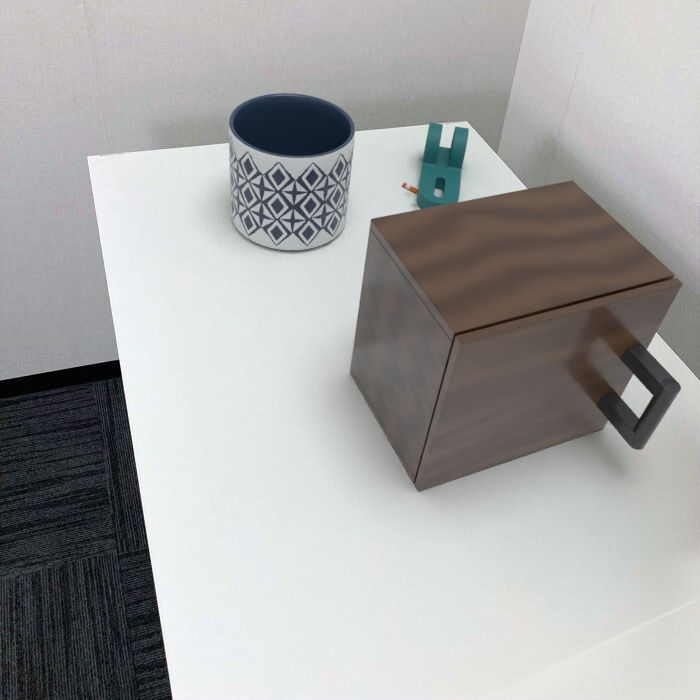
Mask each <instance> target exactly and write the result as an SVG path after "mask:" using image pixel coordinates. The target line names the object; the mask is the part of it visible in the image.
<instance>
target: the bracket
mask: <svg viewBox="0 0 700 700" xmlns="http://www.w3.org/2000/svg"><path fill="white" fill-rule="evenodd" d="M443 127H444V124H443V123H437V122H429V123H428V129H427V134H426V141H425V145H424V150H423V151H424V152H423V155H422V163H421V169H420V176H419V182H418V183H419V184H418V188H417V189H418V194H417V197H416V204H417V205H418V207H419V208H420V209H425V208H430V207H435V206H441V205H446V204H451V203H456V202H459V198H460V192H461V181H462V180H461V178H462V168H463V165H464V159H465V155H466V151H467V146H468V139H469V134H470V133H469V132H470V131H469V129H470V128H468V127H463V126H454V130H453V133H452V138H451V142H450V143H451V144H450V147H446V146H441V140H442V134H443ZM436 189H437V190H438V189H439V190H441V191H442V196H441V197H439V196H436V195H435V190H436Z"/></svg>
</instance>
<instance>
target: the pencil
mask: <svg viewBox="0 0 700 700" xmlns="http://www.w3.org/2000/svg"><path fill="white" fill-rule="evenodd" d="M401 186H402V188H404V189H406V190H408V191H410V192H412V193H414V194H416V195H418V189H419V188H416V187H414V186H412V185H410V184H408V183H406V182H403V183H402V184H401Z"/></svg>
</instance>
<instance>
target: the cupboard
mask: <svg viewBox="0 0 700 700" xmlns="http://www.w3.org/2000/svg"><path fill="white" fill-rule="evenodd" d="M367 238H368V239H367V245H366V252H365V260H364V266H363V275H362V280H361V289H360V294H359V295H360V297H359V302H358V304H359V305H358V311H357V318H356V325H355V333H354V340H353V348H352V354H351V361H350V370H349V375H350V376H351V378H352V380H353V382H354V384H355V385H356V387H357V389H358V391H359V392H360V394H361V395H362V397H363V399H364V401H365V403H366V404H367V406H368V408H369V409H370V411H371V413H372V414H373V416H374V418H375V420H376V421H377V423H378V425H379V427H380V429H381V430H382V432H383V434H384V436H385V437H386V439H387V441H388V442H389V444H390V446H391V448H392V450H393V451H394V453H395V455H396V456H397V458H398V460H399V462H400V463H401V465H402V466H403V468H404V470H405V472H406V474H407V476H408V477H409V479H410V481H411V482H412V484H415V482H416V478H417V475H418V471H419V467H420V464H421V460H422V456H423V453H424V449H425V445H426V442H427V438H428V435H429V431H430V427H431V424H432V420H433V416H434V413H435V409H436V406H437V402H438V398H439V395H440V391H441V387H442V384H443V380H444V376H445V373H446V369H447V366H448V362H449V358H450V355H451V351H452V347H453V344H454V340H455V337H456V336H457V335H461V334H465V333H469V332H473V331H476V330H480V329H484V328H488V327H492V326H495V325H499V324H503V323H507V322H511V321H514V320H518V319H522V318H526V317H530V316H533V315H537V314H541V313H545V312H549V311H552V310H556V309H560V308H564V307H567V306H571V305H575V304H579V303H583V302H586V301H590V300H594V299H598V298H602V297H605V296H609V295H613V294H617V293H621V292H624V291H628V290H632V289H636V288H640V287H643V286H647V285H651V284H655V283H659V282H662V281H666V280H670V279H674V278H675V276H676V274H675V273H674V272H673V271H672V270H671V269H669V268H668V266H667V265H666V264H664V263H663V262H662V261H661V260H660V259H658V257H657V256H655V255H654V254H653V253H652V252H651V251H650V250H649V249H648V248H647V247H646V246H644V244H642V243H641V242H640V241H639V240H638V239H637V238H636V237H635V236H634V235H633V234H632V233H630V232H629V231H628V230H627V229H626V228H625V227H624V226H623V225H622V224H621V223H620V222H618V220H616V219H615V218H614V217H613V216H612V215H611V214H610V213H609V212H607V210H605V209H604V208H603V207H602V206H601V205H600V204H599V202H597V201H596V200H595V199H594V198H593V197H591V196H590V195H589V194H588V193H587V192H586V191H585V190H584V189H583V188H582V187H580V185H579V184H577V183H576V181H574V180H573V179H571V180H566V181H561V182H556V183H551V184H545V185H542V186H535V187H531V188H530V187H529V188H525V189H520V190H515V191H509V192H503V193H498V194H494V195H488V196H483V197H478V198H472V199H469V200H468V199H467V200H462V201H458V202H456V203H451V204H446V205H441V206H435V207H430V208H425V209H421V208H420V209H415V210H410V211H405V212H399V213H394V214H388V215H383V216H379V217H373V218H370V224H369V231H368V237H367Z"/></svg>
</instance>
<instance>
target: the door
mask: <svg viewBox="0 0 700 700" xmlns="http://www.w3.org/2000/svg"><path fill="white" fill-rule="evenodd" d="M683 284H684V283H683V282H682V281H681V280H680V279H678V278H677V277H674V278H673V279H670V280H666V281H662V282H659V283H655V284H651V285H647V286H643V287H640V288H636V289H632V290H628V291H624V292H621V293H617V294H613V295H609V296H605V297H602V298H598V299H594V300H590V301H586V302H583V303H579V304H575V305H571V306H567V307H564V308H560V309H556V310H552V311H549V312H545V313H541V314H537V315H533V316H530V317H526V318H522V319H518V320H514V321H511V322H507V323H503V324H499V325H495V326H492V327H488V328H484V329H480V330H476V331H473V332H469V333H465V334H461V335H457V336H456V337H455V340H454V344H453V347H452V351H451V355H450V358H449V362H448V366H447V369H446V373H445V376H444V380H443V384H442V387H441V391H440V395H439V398H438V402H437V406H436V409H435V413H434V416H433V420H432V424H431V427H430V431H429V435H428V438H427V442H426V445H425V449H424V453H423V456H422V460H421V464H420V467H419V471H418V475H417V478H416V482H415V483H414V487H415V489H416V490H417V492H423V491H425V490H427V489H432V488H434V487H438V486H440V485H443V484H446V483H449V482H452V481H455V480H458V479H461V478H463V477H466V476H469V475H473V474H475V473H479V472H481V471H485V470H487V469H490V468H493V467H496V466H499V465H501V464H505V463H507V462H510V461H514V460H517V459H519V458H522V457H525V456H528V455H532V454H534V453H537V452H539V451H543V450H545V449H549V448H552V447H556V446H558V445H561V444H563V443H565V442H569V441H572V440H575V439H578V438H581V437H584V436H587V435H590V434H594V433H595V432H599V431H602V430H604V428H605V427H606V425H607V423H608V422H609V423H610V425H612V427H613V428H614V429H615V430H616V431H617V432H618V434H619V435H620V436H621V437H622V439H623V440H624V441H625V442H626V443H627V444H628V446H629V447H630V448H632V449H633V450H636V451H640V450H644V449H645V447H646V445H647V444H648V442H649V440H651V437H652V436H653V434H654V433H655V431H656V429H657V428H658V426H659V424H660V423H661V421H662V420H663V419H664V417H665V415H666V414H667V413H668V411H669V409H670V408H671V406H672V404H673V403H674V401H675V399H676V398H677V396H678V395H679V393H680V392H681V389H682V387H681V384H680V382H679V381H677V380H676V379H675V377H674V376H673V375H672V374H671V373H670V372H669V371H668V370H667V369H666V368H665V367H664V365H662V364H661V362H659V361H658V360H657V358H655V357H654V355H653V354H651V352H650V351H649V350H648V348H649V347H650V345H651V343H652V341H653V339H654V337H655V336H656V334H657V332H658V331H659V330H658V329H659V328H660V327H661V324H662V323H663V321H664V319H665V318H666V315H667V313H668V312H669V310H670V308H671V306H672V304H673V303H674V301H675V299H676V297H677V296H678V294H679V292H680V290H681V288H682V286H683ZM633 376H635V377H636V378H637V380H638V381H639V382H640V383H641V384H642V385H643V386H644V387H645V389H646V390H647V391H648V392H649V393H650V394H651V395H652V396H651V398H650V400H649V402H648V403H647V405H646V407H645V408H644V410H643V411H642V413H641V415H640V417H639V416H637V414H636V413H635V412H634V411H633V410H632V408H630V405H628V404H627V402H626V401H625V400H624V399H623V398H622V395H623V394H624V392H625V390H626V389H627V386H628V385H629V383H630V381H631V379H632V377H633Z"/></svg>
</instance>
